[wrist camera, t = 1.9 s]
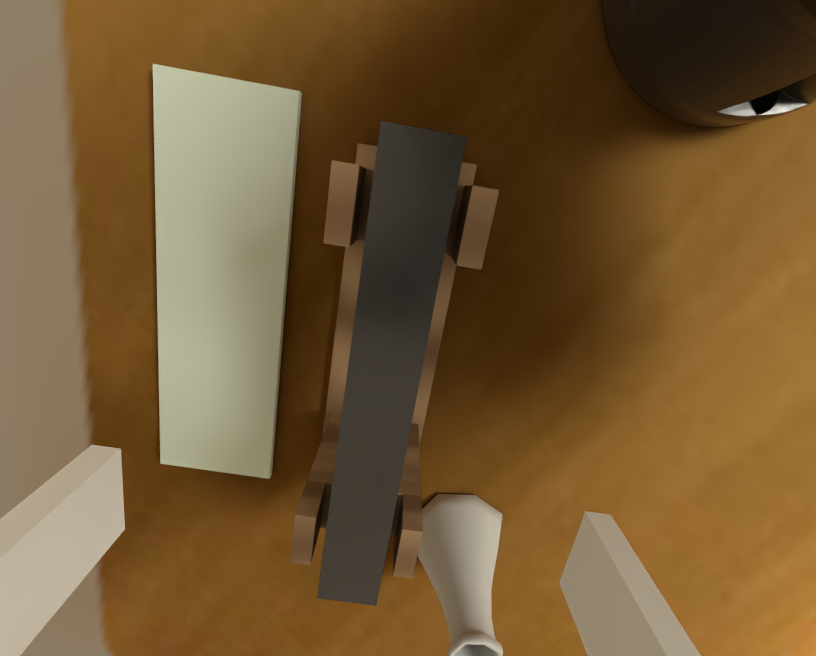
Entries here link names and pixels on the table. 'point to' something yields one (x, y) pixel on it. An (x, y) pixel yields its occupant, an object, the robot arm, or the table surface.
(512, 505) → the table surface
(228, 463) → the mat
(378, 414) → the rail
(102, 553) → the robot arm
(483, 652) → the flask
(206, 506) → the table surface
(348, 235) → the rack
